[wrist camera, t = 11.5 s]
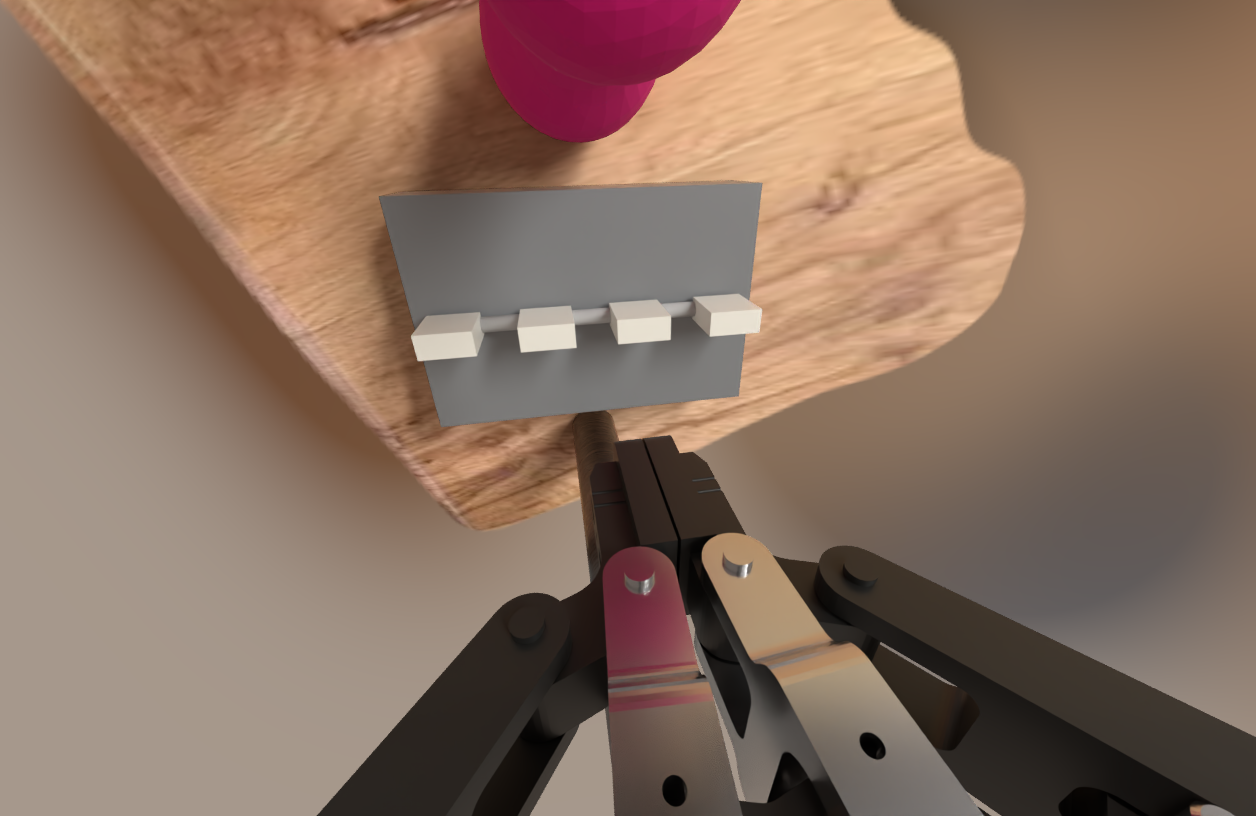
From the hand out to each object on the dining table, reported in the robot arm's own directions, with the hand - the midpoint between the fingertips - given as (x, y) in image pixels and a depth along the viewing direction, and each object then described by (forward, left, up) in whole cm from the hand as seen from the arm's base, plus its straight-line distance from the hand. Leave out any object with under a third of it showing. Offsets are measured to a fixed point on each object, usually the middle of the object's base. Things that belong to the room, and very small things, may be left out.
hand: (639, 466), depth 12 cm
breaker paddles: (0, 0, -14) cm, 14 cm away
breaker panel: (0, 0, -18) cm, 18 cm away
